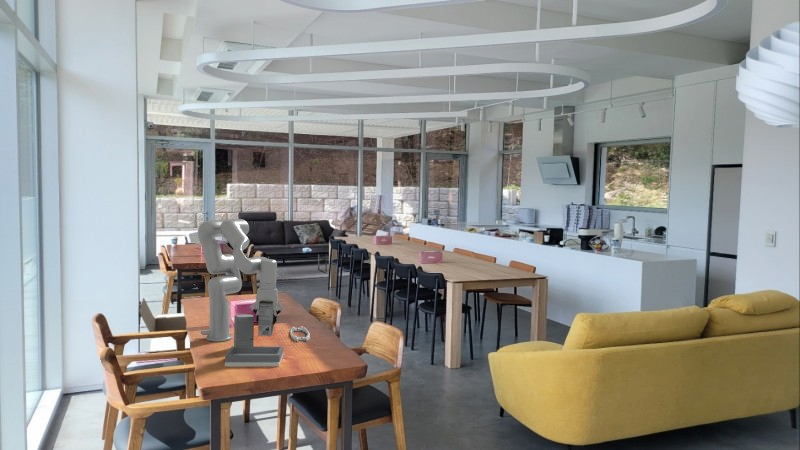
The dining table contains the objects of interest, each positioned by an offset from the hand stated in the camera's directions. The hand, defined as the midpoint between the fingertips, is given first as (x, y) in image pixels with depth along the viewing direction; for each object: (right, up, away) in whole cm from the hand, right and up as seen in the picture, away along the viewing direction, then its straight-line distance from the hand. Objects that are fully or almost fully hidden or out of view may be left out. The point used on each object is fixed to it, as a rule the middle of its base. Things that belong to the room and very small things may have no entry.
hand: (266, 323), depth 264 cm
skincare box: (-12, -13, +5) cm, 19 cm away
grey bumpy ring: (+10, -12, +29) cm, 34 cm away
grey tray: (-2, -14, -14) cm, 20 cm away
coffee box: (0, -5, 0) cm, 5 cm away
